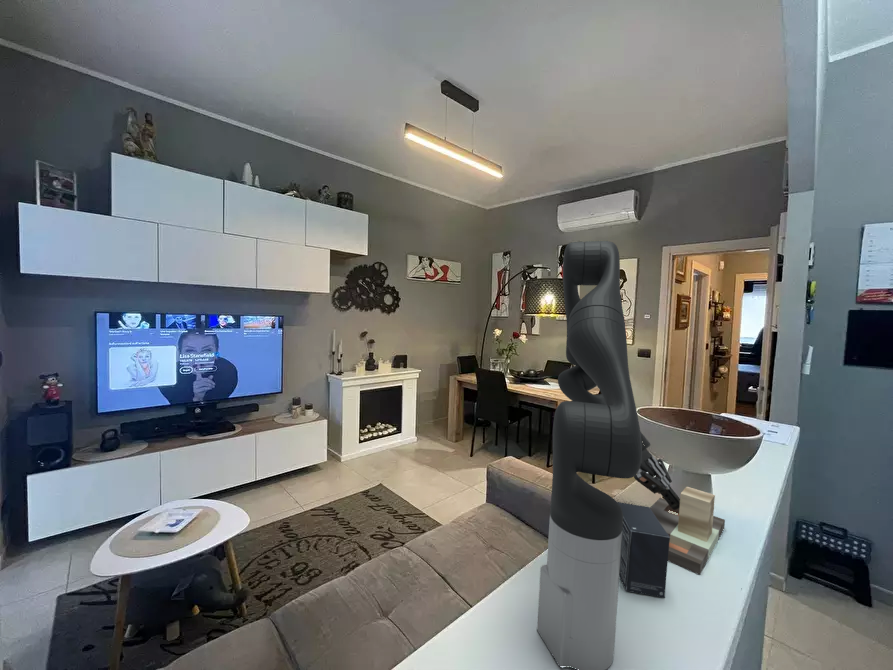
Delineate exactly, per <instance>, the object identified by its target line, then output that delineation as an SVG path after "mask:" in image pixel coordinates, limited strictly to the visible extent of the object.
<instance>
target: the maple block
mask: <svg viewBox="0 0 893 670" xmlns="http://www.w3.org/2000/svg"><path fill="white" fill-rule="evenodd" d="M679 498H680V508H679V522H678V531H679V532H682V533H684V534H687V535H689V536H692V537H695V538H697V539H700V540H702V541H705V542H707V541H708V539H709V537H710V535H711V534H712V526H713V516H714V514H715V513H714V512H715V500H716V499H715V498H716V495H715V494H714V493H713V494H712V493H710V492H706V491H703V490H700V489H696V488H692V487H689V486H685V488H683V490H682V491H681V492H680V497H679Z"/></svg>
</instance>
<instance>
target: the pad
mask: <svg viewBox="0 0 893 670" xmlns="http://www.w3.org/2000/svg"><path fill="white" fill-rule="evenodd" d="M718 538H719V530H716V529H714V528H712V534H711V535H710V537H709V539H708V541H707V542H705V541H702V540H700V539H697V538H695V537H692V536H689V535H687V534H684V533H682V532H679V531H678V525H677V526H676V528H675V529H674V530H673V531H672V533H671V534H670V543H672V544H675V545H677V546H680V547H682V548H684V549H687V550H689V549H690V548H691V546H692V545H693V544H696V545H698V546H701V547H703V548H706V549H708V559H709V558H710V557H711V555H712V553H713V550H714V549H715V547H716V545H717V544H718V541H719V540H718ZM719 539H720V538H719Z"/></svg>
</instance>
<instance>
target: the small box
mask: <svg viewBox="0 0 893 670" xmlns="http://www.w3.org/2000/svg"><path fill="white" fill-rule="evenodd" d="M617 503H618V504H619V505H620V507H621V509H622V512H623V528H622V543H621V557H620V572H619V579H620V580H621V583H622V585H623V588H624V590H625V591H626V592H628V593H629V592H630V593H634V594H635V593H636V594H641V595H646V596H651V597H656V598H661V599H665V598H666V586H667V585H666V584H667V574H668V562H669V561H668V552H669V541H670V536H669V535H668V534H667V532H666V531H665V529H664V528H663V527H662V525H661V524H660V522H659V521H658V519H657V518H656V517H655V515H654V514H653V512H652V511H651V509H650V507H649V506H646V505H645V506H644V505H637V504H632V503H628V502H627V503H626V502H621V501H620V502H619V501H617Z"/></svg>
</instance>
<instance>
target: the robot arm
mask: <svg viewBox="0 0 893 670" xmlns="http://www.w3.org/2000/svg"><path fill="white" fill-rule="evenodd" d="M620 262H621V261H620V251H619V248H618V246H617V245H616V243H615V242H613V241H608V240H595V241H594V240H591V241H590V240H589V241H573V242H569V243H567V245H566V246H565V249H564V253H563V259H562V285H563V296H564V297H563V298H564V309H565V319H566V321H565V322H566V346H565V357H566V360H567V361H568V363H570V364H572V365H574V366H571V367H570V368H568V369H565V370H563V371H562V372H560V373H559V375H558V378H557V383H558V386H559V390H561V392H562V394H564V396H565V397H566V398H568V399H569V400H564V401H562V402H560V403H559V404H558V405H557V407H556V409H555V412H554V415H553V416H554V417H553V425H552V481H551V495H550V509H549V522H548V523H549V526H548V537H547V539H548V542H547V555H546V556H547V558H546V559H547V561H546V564H542V565H541V566H540V571H539V575H540V576H539V590H538V606H537V607H538V609H537V625H536V630H537V633H538V634H539V635H540V637H541V639H542V641H543V642H544V644H545V645H546V647H547V649H548V650H549V652H550V654H551V653H552V654H553V655H552V654H551V655H552V657H553V656H554V657H553V659H554V658H555V659H556V660H555V659H554V660H555V662H556V661H557V662H558V664H559V665H560V666H571V667H573V668H576V669H579V670H607V669H609V668H610V666H611V665H612V664H613V661H614V657H615V644H616V632H617V631H616V629H617V615H618V614H617V613H618V601H619V600H618V599H619V586H620V585H619V583H620V576H619V572H620V557H621V543H622V528H623V512H622V509H621V507H620V505H619V504H618V503H617V502H618V501H617V500H616V499H614V498H613V497H612V496H611V495H609V494H608V493H606V492H604V491H602V490H600V489H598V488H597V487H595V486H593V485H591V484H590V483H588V481H585V480H584V479H583V478H582V477H581V476H580V475H579V474H578V473H583V474H588V475H589V474H590V475H593V476H594V475H595V476H601V477H609V478H616V479H617V478H618V479H632V478H634V480H635V481H636V482H638V484H639V483H640V485H642V486H643V487H645V488H646V489H647V490H648V491H650V492H651V493H653V494H655V495H656V494H659V495H661V496H662V497H663V499H665V500H666V501H667V503H668V504H669V505H670V507H671V508H672V509H673V510H676V509H678V508H680V497H679V496H678V494H677V493H676V492H675V491H674V489H673V488H672V483H673V480H672V478H671V476H670V474H669V472H668V469H667V467H666V465H665V463H664V461H663V460H662V459H661V458H659V459H656V458H655V456H653V454H652V453H651V452H649V451H648V450H647V449H649V447H650V446H651V442H650V441H649V440H648V439H647V437H646V436H645V435H644V433H642V431H641V427H640V421H639V417H638V411H637V407H636V402H635V397H634V392H633V388H632V383H631V382H632V381H631V377H630V369H629V360H628V345H627V343H628V342H627V331H626V329H627V328H626V322H625V316H624V311H623V304H622V296H621V278H620V277H621V272H620V271H621V265H620V264H621V263H620ZM579 286H595V287H594V288H593V289H591V290H590V291H588V293H586V295H584V296H583V297H582V298H581V297H580V295H579ZM596 387H597V388H598V390H599V392H600V394H593V393H592V392H590V391H591V390H593V389H594V388H596ZM642 441H643V443H642ZM643 444H644V445H645V446H644V445H643ZM557 662H556V663H557ZM558 664H557V665H558ZM559 665H558V666H559Z"/></svg>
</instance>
